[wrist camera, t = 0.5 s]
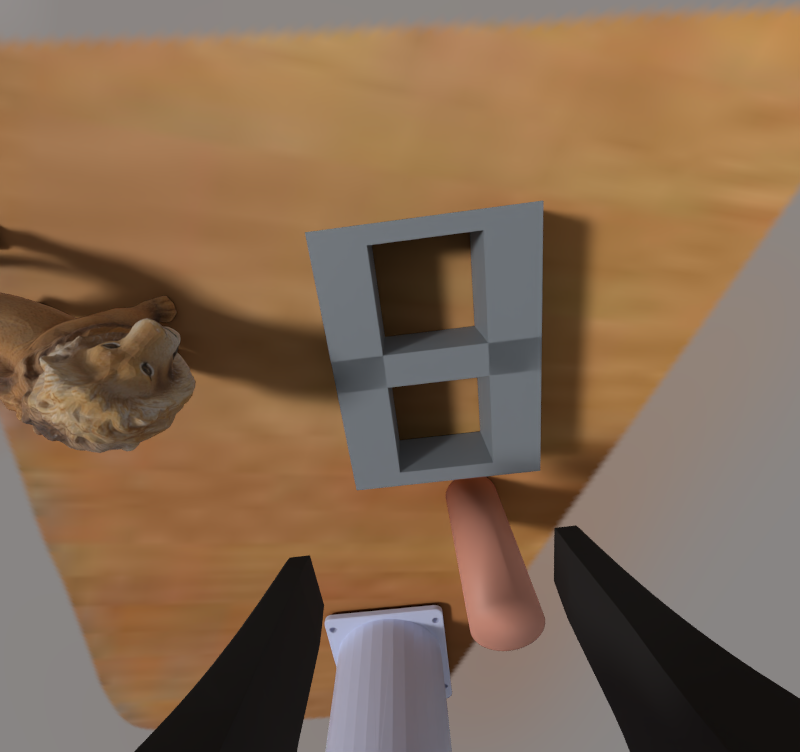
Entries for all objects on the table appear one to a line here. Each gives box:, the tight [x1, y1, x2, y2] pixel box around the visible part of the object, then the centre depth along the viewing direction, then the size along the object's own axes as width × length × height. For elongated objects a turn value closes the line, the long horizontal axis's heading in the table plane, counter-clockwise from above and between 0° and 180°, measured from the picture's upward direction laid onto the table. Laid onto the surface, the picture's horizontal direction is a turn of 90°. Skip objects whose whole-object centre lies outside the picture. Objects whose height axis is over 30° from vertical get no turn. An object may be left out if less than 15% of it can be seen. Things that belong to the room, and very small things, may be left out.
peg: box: [446, 477, 545, 651], centre depth 19 cm, size 3×3×8 cm
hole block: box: [305, 201, 543, 490], centre depth 18 cm, size 12×9×3 cm
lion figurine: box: [0, 293, 196, 453], centre depth 14 cm, size 15×5×9 cm, turn 74°
